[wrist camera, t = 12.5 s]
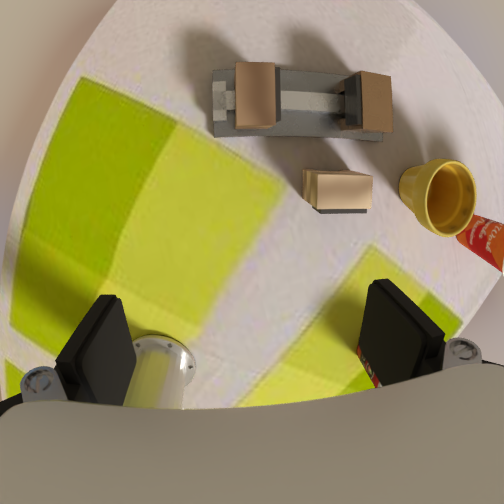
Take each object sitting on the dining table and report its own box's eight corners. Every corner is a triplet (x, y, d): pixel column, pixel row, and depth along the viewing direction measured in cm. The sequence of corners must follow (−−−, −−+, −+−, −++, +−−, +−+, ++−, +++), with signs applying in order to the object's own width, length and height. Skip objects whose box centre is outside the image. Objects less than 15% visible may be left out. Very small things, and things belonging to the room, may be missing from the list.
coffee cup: (473, 198, 42) (532, 221, 28) (483, 232, 45) (536, 260, 30) (445, 225, 43) (505, 255, 29) (457, 258, 46) (510, 293, 32)
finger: (234, 129, 35) (236, 124, 28) (234, 76, 32) (236, 62, 26) (271, 128, 35) (281, 124, 29) (270, 77, 33) (280, 63, 26)
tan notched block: (349, 202, 41) (370, 213, 34) (302, 202, 40) (316, 214, 34) (350, 170, 39) (372, 176, 32) (302, 169, 38) (317, 174, 32)
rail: (214, 137, 36) (211, 135, 28) (213, 72, 33) (209, 54, 25) (378, 141, 38) (409, 142, 30) (377, 82, 35) (407, 73, 27)
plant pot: (378, 169, 39) (416, 177, 30) (427, 145, 38) (468, 149, 29) (398, 229, 43) (434, 251, 34) (443, 203, 42) (482, 218, 33)
